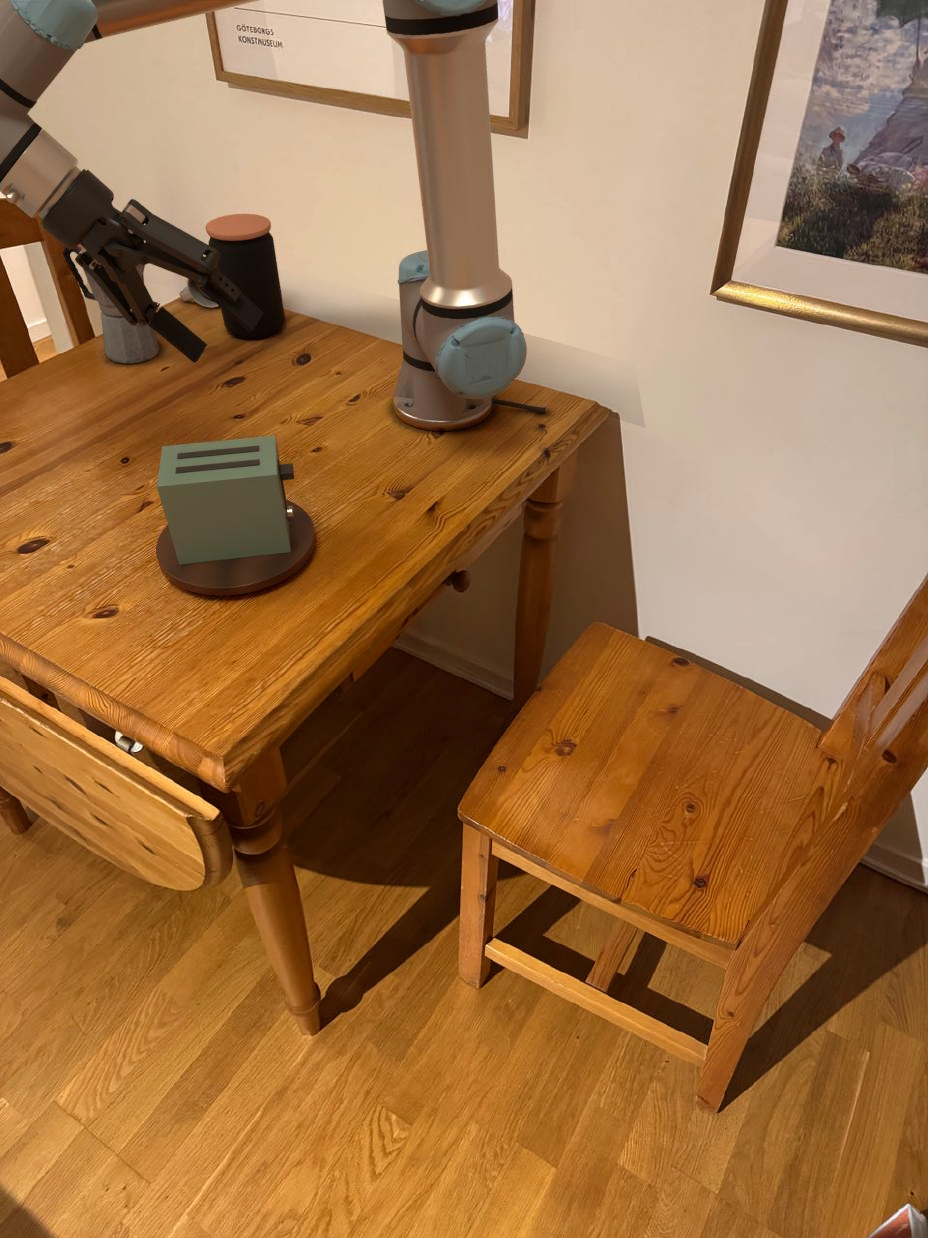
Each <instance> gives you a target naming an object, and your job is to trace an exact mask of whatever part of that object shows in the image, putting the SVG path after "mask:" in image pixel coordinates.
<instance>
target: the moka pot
mask: <svg viewBox="0 0 928 1238" xmlns="http://www.w3.org/2000/svg"><path fill="white" fill-rule="evenodd" d="M82 248H83V246H82V245H81V244H79V245H78V246H77V247H75V248H74V249H68V248H66V247H65V246H64V250H62V256H63V258H64V261H65V263H66V264H67V266H68V269H69V270H70V272H71V273H72V275H73V277H74V278H75V280H76V282H77V284H78V286H79V288H80V290H81V292H82V293H83V296H84V298H86V299H88V300H92V301H96V302H97V303H98V306H99V310H100V311H101V312H100V320H101V329H102V336H103V347H104V354H105V356H106V357H107V358H108V359H109V360H111V361H113V362H115V363H121V364H139V363H143V362H147V361H149V360H152V359H153V358H155V357H156V356H157V355H158V354H159V353H160V348H161V346H160V343H159V339H158V337H157V333H156V331H155V330H154V329H152V328H151V327H150V326H149V325H142V324H141V323H137V324H136V326H133V325H131V324H129V323H128V322H127V320H126V319H125V318H124V317H123V315H122V314H121V313H120V312H119V310H118V309H117V308H116V307H115V305H114V304H113V303H112V302H111V300H110V299H109V298H108V297H107V295H106V294H105V293H104V292H103V290H102V289H101V288H100V287H99V285H98V284H97V283H96V282H95V280H94V279H93V278H92V276H91V275H90V274H89V273H87V272H86V271H85V270H84V269H83V268H82V269H83V272H84V275H85V278H86V280H87V282H88V285H89V287H90V290H91V291H89V288H88V287H87V286H86V284H85V283H84V280H83V277H82V275H81V274H80V273H79V269H78V268H77V266H76V263H75V262H74V260H73V258H72V256H71V254H72V253H75V254H76V256H77V255H78V254H79V253H80V251H81V250H82ZM145 267H146V265H141V264H139V265H138V266H136V269H137V271H138V273H139V275H140V277H141V279H142V281H143V283H144V284H145V277H144V274H145V273H144V272H145ZM130 311H131V312H132V309H130Z"/></svg>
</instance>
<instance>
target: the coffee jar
mask: <svg viewBox="0 0 928 1238" xmlns="http://www.w3.org/2000/svg"><path fill="white" fill-rule="evenodd" d="M271 229H272V222H271V220H270V219H269V218H268V217H266V216H264V215H259V214H255V213H254V214H253V213H235V214H227V215H226V214H225V215H223V216H218V217H216V218H213V219H211V220H210V221H208V222H207V223H206V225H205V231H206V232H205V233H207V235H208V236H209V240H208V245H209V246H211V247H213V248H215V249H216V250H218V251H219V252H220V254H221V257H220V259H219V261H218V264H217V265H218V269H219V271H220V272H221V273H222V274H223V275H225V276H226V277H227V278H228V279H229V280H230V281H231V282H232V283H233V284H234V285H235V286H237V287H238V288H239V290H240V291H241V292H242V293H243V294H244V295H245V296H246V297H247V298H248V299H249V300H250V301H251V302H253V303H254V304H255V305H256V306H257V307H258V308H259V309H260V310H261V311H262V312H263V315H262V317H261V318H260V320H259V322H258V323H257V325H256V327H255V328H254V330H253V331H252V332H250V333H249V332H248V331H247V330H246V329H244V328H243V327H242V326H241V325H240V324H239V323H238V322H237V321H235V320H234V319H233V318H232V317H231V316H230V315H229V314H228V313H226V312H225V311H224V310H223V309H222V308H221V307H220V309H221V314H222V319H223V324H224V327H225V329H226V331H227V332H228V333H230V335H231V337H234V338H236V339H239V340H244V341H259V340H260V341H261V340H266V339H268V338H272V337H274V336H276V335H278V334H280V332H281V331H282V330H283V327H284V326H285V323H286V316H285V310H284V309H285V307H284V302H283V295H282V289H281V282H280V275H279V267H278V261H277V254H276V248H275V247H276V246H275V242H274V241H275V240H274V237H273V235H272V234H271V232H270V231H271Z"/></svg>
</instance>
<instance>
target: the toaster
mask: <svg viewBox="0 0 928 1238" xmlns="http://www.w3.org/2000/svg"><path fill="white" fill-rule="evenodd" d="M278 447H279V446H278V442H277V437H276V435H265V436H256V437H254V436H253V437H245V438H235V439H225V440H223V439H222V440H212V441H204V442H194V443H193V442H192V443H183V444H173V445H172V444H171V445H163V446H162V447H161V453H160V460H159V461H160V462H159V469H158V474H157V482H156V489H157V492H158V496H159V499H160V503H161V506H162V509H163V510H162V511H163V513H164V516H165V520H166V523H167V524H166V526H165V527H164V528H163V530H162V531H161V532H160V534H159V536H158V538H157V540H156V545H155V556H156V559H157V563H158V566H159V568H160V570H161V572H162V573H163V575H164V576H165V577H166V579H168V580H169V581H170V582H171V583H173V584H174V585H176V586H178V587H179V588H182V589H184V590H186V591H190V592H192V593H196V594H201V595H206V596H207V595H208V596H209V595H210V596H235V595H243V594H248V593H249V594H250V593H253V592H257V591H260V590H264V589H266V588H270V587H272V586H274V585H276V584H278V583H281V582H283V581H285V580H286V579H288V578H289V577H291V576H293V574H295V573H296V572H298V570H300V569H301V568H302V567H303V566H304V565H305V564H306V563H307V561H308V560H309V558H310V557H311V555H312V553H313V551H314V549H315V545H316V532H315V525H314V522H313V520H312V518H311V516H310V515H309V514H308V512H307V511H306V510H304V508H302V507H301V506H300V505H298V504H297V503H295V502H293V501H291V500H289V499H287V494H286V489H285V482H284V481H291V480H295V469H294V464H293V463H282V464H281V460H280V454H279V448H278Z"/></svg>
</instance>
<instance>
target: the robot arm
mask: <svg viewBox="0 0 928 1238" xmlns="http://www.w3.org/2000/svg"><path fill="white" fill-rule="evenodd" d="M258 1H260V0H0V193H1V194H2V195H3V196H5V199H6V201H7V202H8V203H9V204H12V205H13V204H14V205H16V206H17V207H18V208H19V209H20V210H21V211H23V213H25V214H26V215H27V216H28V217H30V218H31V219H35V218H36V217H37V216H38V217H39V218H41V219H42V220H41V222H40V224H41V229H43V230H45V232H47V233H48V234H49V235H51V237H53V238H54V239H56V241H58V242H59V243H60V244H61V245H62V246H63V247H64V248H65V247H66V248H68V249H74V248H75V247H77V246H78V245H79V244H81V245H82V246H83V248H82V250H81V251H80V253H79V254H78V255H77V254H76V256H75V259H74V261H75V263H76V264H78V266H79V267H81V268H82V269H84V270H85V271H86V272H87V273H89V274H90V275H91V276H92V278H93V279H94V280H95V282H96V283H97V284H98V285H99V287H100V288H101V289H102V290H103V292H104V293H105V294H106V295H107V297H108V298H109V299H110V300H111V302H112V303H113V304H114V305H115V307H116V308H117V309H118V310H119V312H120V313H121V314H122V315H123V317H124V318H125V319H126V320H127V322H128V323H129V324H131V325H133V326H136V324H137V323H141V324H142V325H149V326H150V327H151V328H152V329H154V331H155V333H156V334H158V335H160V337H162V338H163V339H164V340H165V341H167V342H168V344H170V345H172V346H173V347H174V348H175V349H176V350H178V351H179V352H180V353H181V354H183V356H185V357H186V358H188V359H189V361H191V362H192V363H193V364H195V363H197V362H198V361H199V359H200V358H201V356H202V354H203V353H204V352H205V350H206V348H207V346H208V343H206V341H204V340H203V339H201V338H200V337H199V336H198V335H197V334H195V333H194V332H193V331H192V330H191V329H190V328H188V327H187V326H186V325H185V324H184V323H183V322H181V321H180V320H179V319H178V318H177V317H175V316H174V315H173V314H172V313H171V312H170V311H168V310H167V309H166V308H165V307H164V306H161V303H160V302H159V303H158V302H157V301H154V300H153V298H152V296H151V294H150V292H149V290H148V288H147V287H146V285H145V282H144V283H143V281H142V279H141V277H140V275H139V273H138V271H137V269H136V266H138V265H139V264H141V265H145V266H146V265H149V264H150V265H153V266H155V267H157V268H160V269H163V270H166V271H167V272H171V273H173V274H175V275H179V276H181V277H184V278H186V279H187V278H188V279H191V280H193V281H196V282H198V286H199V289H200V290H202V291H203V292H204V293H205V294H206V295H207V296H208V297H210V298H211V299H212V300H213V301H214V302H215V303H216V304H217V305H219V307H220V309H221V308H222V309H223V310H224V311H225V312H226V313H228V314H229V315H230V316H231V317H232V318H233V319H234V320H235V321H237V322H238V323H239V324H240V325H241V326H242V327H243V328H244V329H246V330H247V331H248V332H249V333H250V332H252V331H253V330H254V328H255V327H256V325H257V323H258V322H259V320H260V318H261V317H262V315H263V312H262V311H261V310H260V309H259V308H258V307H257V306H256V305H255V304H254V303H253V302H251V301H250V300H249V299H248V298H247V297H246V296H245V295H244V294H243V293H242V292H241V291H240V290H239V288H238V287H237V286H235V285H234V284H233V283H232V282H231V281H230V280H229V279H228V278H227V277H226V276H225V275H223V274H222V273H221V272H220V271H219V269H218V265H217V264H218V261H219V259H220V257H221V254H220V252H219V251H218V250H216V249H215V248H213V247H211V246H209V244H208V243H206V242H204V241H202V240H200V239H198V238H197V237H195V236H193V235H192V234H190V233H187V232H186V231H185V230H183V229H181V228H179V227H177V226H175V225H173V224H172V223H171V222H168V221H167V220H164V219H163V218H161V217H160V216H159V215H156V214H154V213H152V212H151V211H150V210H149V209H147V207H146V206H144V205H143V204H141V203H140V201H138V200H137V199H135V198H131V199H130V200H129V201H128V202H127V204H126V205H125V206H124V208H123V209H122V211H120V210H119V209H117V208H116V207H115V206H114V205H113V201H114V199H115V194H114V192H113V190H112V189H111V188H109V187H108V186H107V185H106V184H105V183H104V182H103V181H102V180H100V179H99V178H98V177H97V176H96V175H95V174H94V173H92V171H91V170H89V169H85V168H83V169H82V170H81V168H79V167H78V164H79V159H78V158H77V157H76V156H75V155H74V154H72V153H71V152H70V151H69V150H68V149H67V148H65V146H63V145H62V144H61V143H60V142H59V141H58V140H56V138H54V137H53V136H52V135H51V134H50V133H48V131H46V130H45V129H43V127H42V126H40V125H39V124H38V123H37V122H36V121H35V120H34V119H33V118H32V117H31V116H30V115H29V112H30V111H31V110H32V109H33V108H34V107H35V105H36V104H37V103H38V100H39V99H40V98H41V96H42V95H43V94H44V93H45V91H47V89H48V88H49V86H50V85H51V84H52V83H53V81H55V79H56V78H57V76H58V75H59V74H60V73H61V71H62V70H63V69H64V67H65V66H66V65H67V64H68V63H69V61H70V60H71V59H72V57H73V56H74V55H75V53H76V52H77V51H78V50H81V49H82V48H83V47H84V46H85V44H88V43H89V44H90V43H93V42H95V41H98V40H102V39H104V38H109V37H112V36H118V35H121V34H125V33H129V32H135V31H138V30H142V29H145V28H146V29H147V28H150V27H154V26H158V25H159V26H160V25H163V24H166V23H167V24H168V23H171V22H175V21H180V20H183V19H187V18H191V17H192V18H193V17H196V16H200V15H204V14H209V13H213V12H217V11H220V10H221V11H222V10H226V9H229V8H235V7H237V6H242V5H246V4H250V3H255V2H258ZM382 7H383V15H384V23H385V30H386V34H387V35H388V36H389V37H390V38H391V39H392V40H393V41H394V42H395V43H396V44H397V45H399V47H400V48H401V49H402V52H403V56H404V66H405V73H406V81H407V83H406V84H407V92H408V100H409V108H410V115H411V125H412V133H413V141H414V142H413V143H414V149H415V158H416V166H417V167H416V168H417V176H418V183H419V192H420V201H421V210H422V218H423V226H424V234H425V243H426V250H421V251H417V252H413V253H410V254H408V255H406V256H405V257H403V258H402V259H401V260H400V263H399V265H398V279H397V284H398V291H399V292H398V293H399V308H400V309H399V310H400V327H401V328H400V329H401V343H402V344H401V345H402V362H401V367H400V370H399V374H398V377H397V381H396V384H395V388H394V391H393V396H392V399H393V410H394V413H395V415H396V417H398V418H399V420H401V421H402V422H403V423H405V424H407V425H409V426H412V427H415V428H418V429H421V430H427V431H434V432H435V431H436V432H446V431H447V432H448V431H449V432H451V431H456V430H457V431H458V430H463V429H467V428H470V427H472V426H473V427H474V426H475V425H477V424H480V423H481V422H482V421H484V420H486V419H487V418H488V417H489V415H490V414H491V413H492V410H493V405H498V406H504V407H510V408H515V409H521V410H524V411H530V412H534V413H544V414H545V413H546V411H547V408H546V407H541V406H535V405H529V404H525V403H519V402H515V401H510V400H504V399H498V398H493V397H494V396H496V395H497V394H500V393H502V392H503V391H505V390H506V389H508V388H509V386H511V384H512V382H514V380H515V379H517V378H518V377H519V375H520V374H521V372H522V370H523V369H524V366H525V364H526V360H527V354H528V346H527V341H526V338H525V336H524V332H523V331H522V328H521V327H520V326H519V324H517V323H516V320H515V310H514V308H515V307H514V293H513V292H514V289H513V280H512V278H511V276H510V275H509V274H508V273H506V272H505V271H504V270H503V269H502V268H500V259H499V245H498V243H499V242H498V228H497V227H498V226H497V212H496V211H497V210H496V209H497V208H496V195H495V180H494V179H495V178H494V163H493V162H494V161H493V146H492V129H491V114H490V113H491V111H490V97H489V82H488V65H487V48H486V47H487V46H486V41H487V39H488V37H489V35H490V34H491V33H492V31H493V30H494V28H495V27H496V25H497V24H498V22H499V0H382ZM84 270H83V271H84ZM198 270H199V271H198ZM160 306H161V307H160ZM130 309H132V312H131V311H130Z"/></svg>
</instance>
